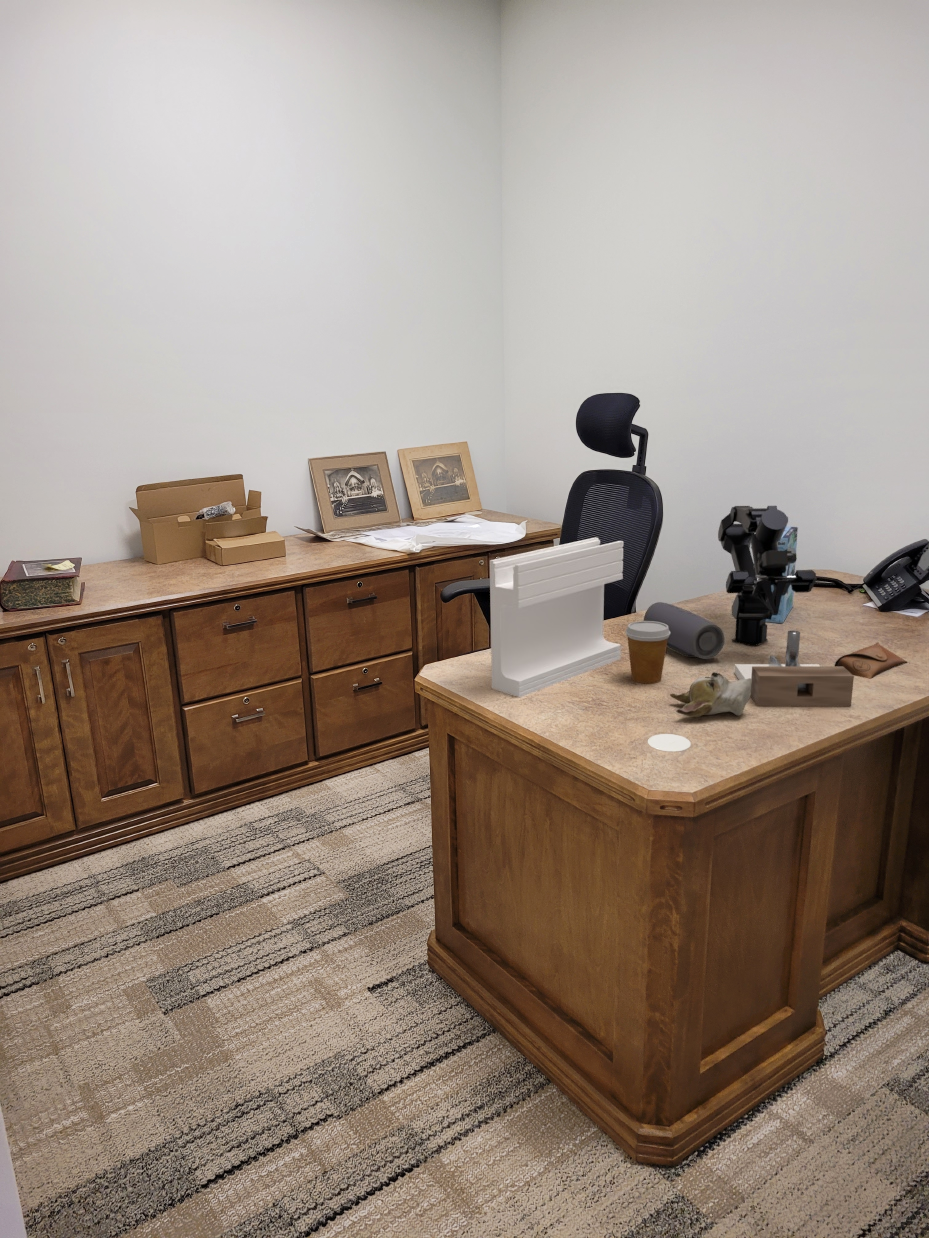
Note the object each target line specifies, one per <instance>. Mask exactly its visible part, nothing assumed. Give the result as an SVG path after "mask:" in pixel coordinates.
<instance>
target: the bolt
mask: <svg viewBox="0 0 929 1238" xmlns="http://www.w3.org/2000/svg"><path fill="white" fill-rule="evenodd" d="M786 636H787V639H786V650H785V661H784V662H785V663H784V664H785V666H798V663H799V653H800V651H799V650H800V640H801V631H798V630H788V631H787V635H786ZM798 690H806V683H798Z"/></svg>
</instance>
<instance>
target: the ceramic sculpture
mask: <svg viewBox="0 0 929 1238" xmlns="http://www.w3.org/2000/svg"><path fill="white" fill-rule="evenodd" d="M751 684H752V679H751V678H749V679H743V680H739V679H738V680H735V681H730V680H728V679H727V676H725V675H723V674H721V673H720V672H719V673H718V672H712V673H711V676H710V677H709V676H708V677H707V676H705V677H698V678H697V679H696V680H694V681H693V682H692V683H691V684H690V686H689V690H687V691H686V692H682V693H681V694H677V693H670V694H669V696H670V697H671V698H672V699H675V700H676V701H678V702H680V703H683V704H684V705H683V707H682V708H679V709H676V710H675V712H676V713H678V714H681V715H684V716H687V717H692V718H698V717H702V716H710V715H717V714H720V713H728V712H730V713H733V714H734V715H736V716H739V717H740V716H741V715H742V714H743V712H744V710H745V707H746V705H747V703H748V701H749V700H750V697H751V696H750V692H751Z"/></svg>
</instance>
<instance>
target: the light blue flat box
mask: <svg viewBox="0 0 929 1238" xmlns="http://www.w3.org/2000/svg"><path fill="white" fill-rule="evenodd" d="M798 530H799V527H797V526H786V528H785V530H784V533H783V535H782V537H781V540H780V541H778V542H777V544H778V550H779V551H785V550H786V549H787V548H795V551H796V552H797V544H798ZM796 563H797V561H796V562H794V563H788V566H786V572H785V573H783V576H794V574H795V572H796ZM773 590H774V587H773V586H771V591H772V592H773ZM794 592H795V591H793V590H792V587H791V585H790V586H789V588H788V590H787V592H786V594H785V595H783V596H782V597H781V601H780V606H779V611H778V614H777V615H773V614H772V618H771V620H769V619H766V623H773V624H774V623H775V624H783V623H784V621H785V620H786V618H787V617H788V615H789V614H790V612H791V610H792V608H794V607H793V606H794V595H795V593H794Z"/></svg>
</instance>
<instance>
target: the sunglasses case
mask: <svg viewBox="0 0 929 1238" xmlns="http://www.w3.org/2000/svg"><path fill="white" fill-rule="evenodd" d="M907 663H908V660H905V659H903V658H902V657H900V656H899V655H897V654H896V653H894V652H892V651H891V650H889V649H887V648H885V647H884V646H882V645H881V644H879V642H878V641H877V642H876V643H874V644H872V645H869V646H866V647H863V648H861V649H859V650H856V651H854V652H850V653H848V654H844V655H842V656H840V657H838V658H837V660H836V661H835V663H834V666H843V667H844V668H845V669H847V670H848V671H849V672H850V673H851V674H852V675H853V676H854V677H855V676H856V677H860V678H865V679H868V680H871V679H873V678H874V677H875V676H878V675H880V674H882V673H884V672H886V671H888V670H891V669H893V668H895V667H898V666H900V665H904V664H907Z"/></svg>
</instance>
